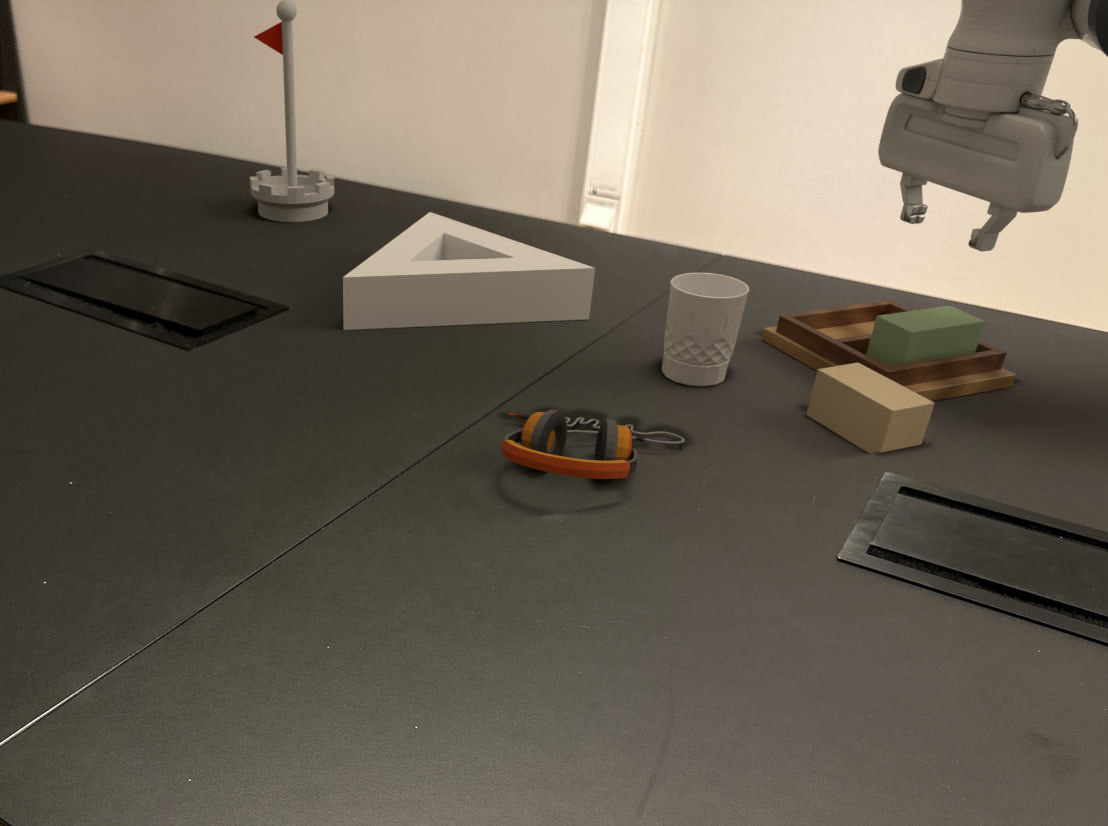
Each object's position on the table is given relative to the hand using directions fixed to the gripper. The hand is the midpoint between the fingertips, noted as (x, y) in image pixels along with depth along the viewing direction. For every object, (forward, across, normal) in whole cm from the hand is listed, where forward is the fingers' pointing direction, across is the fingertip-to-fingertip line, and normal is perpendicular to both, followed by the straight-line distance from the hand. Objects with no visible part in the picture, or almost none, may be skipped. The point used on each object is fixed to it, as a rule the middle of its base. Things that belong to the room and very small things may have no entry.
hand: (944, 235), depth 104 cm
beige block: (+16, -9, +12) cm, 22 cm away
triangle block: (+16, +34, +34) cm, 51 cm away
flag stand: (+16, +82, +48) cm, 96 cm away
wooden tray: (+16, +6, -2) cm, 17 cm away
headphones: (+16, -7, +41) cm, 45 cm away
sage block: (+14, +2, -3) cm, 15 cm away
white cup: (+16, +8, +20) cm, 27 cm away
